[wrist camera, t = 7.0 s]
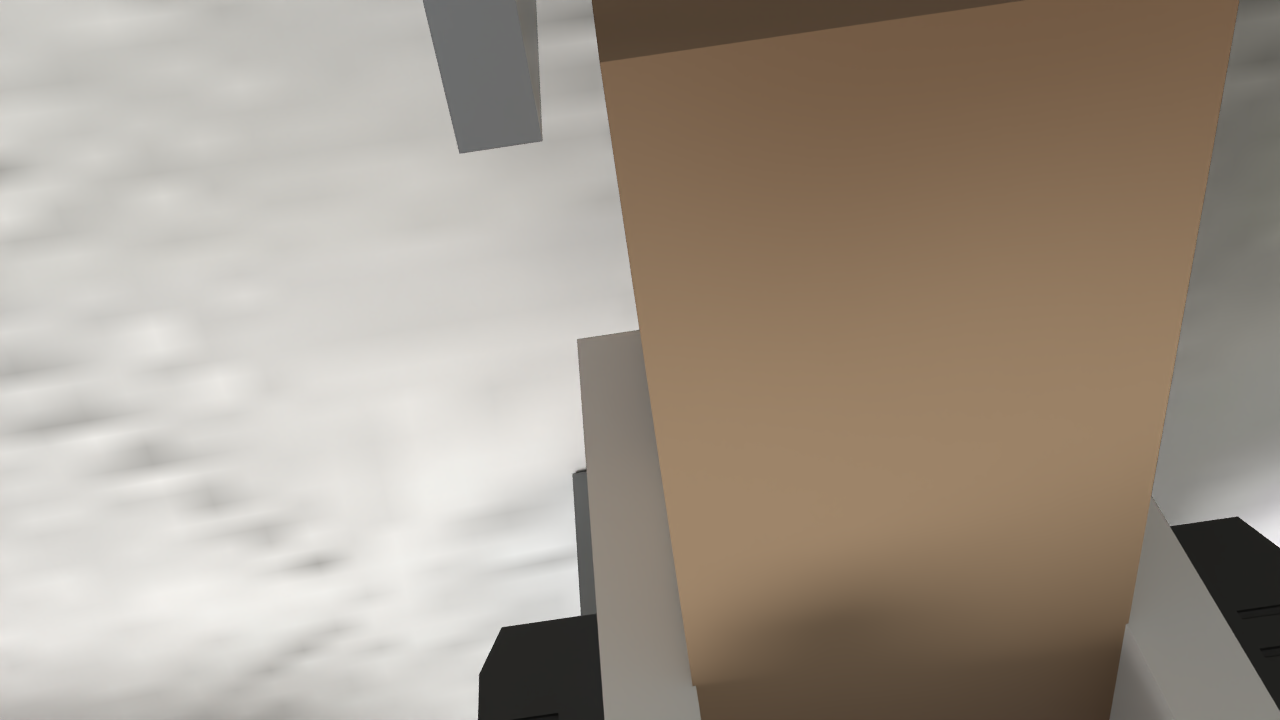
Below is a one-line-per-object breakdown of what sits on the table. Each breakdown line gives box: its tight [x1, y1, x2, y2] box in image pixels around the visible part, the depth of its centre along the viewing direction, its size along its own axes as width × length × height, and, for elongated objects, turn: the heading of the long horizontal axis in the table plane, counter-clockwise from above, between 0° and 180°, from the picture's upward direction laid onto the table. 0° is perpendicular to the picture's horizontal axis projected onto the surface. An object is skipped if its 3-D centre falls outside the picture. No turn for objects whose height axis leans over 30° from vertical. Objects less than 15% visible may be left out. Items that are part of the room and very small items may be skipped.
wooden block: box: [592, 0, 1239, 720], centre depth 13 cm, size 14×4×6 cm, turn 7°
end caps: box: [423, 0, 597, 616], centre depth 16 cm, size 18×6×4 cm, turn 7°
